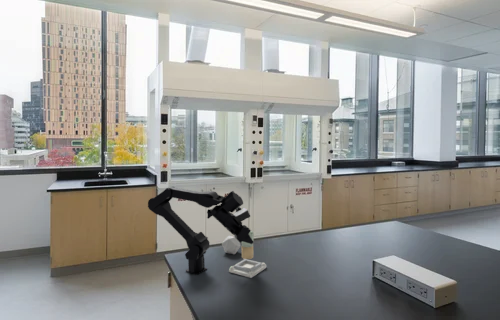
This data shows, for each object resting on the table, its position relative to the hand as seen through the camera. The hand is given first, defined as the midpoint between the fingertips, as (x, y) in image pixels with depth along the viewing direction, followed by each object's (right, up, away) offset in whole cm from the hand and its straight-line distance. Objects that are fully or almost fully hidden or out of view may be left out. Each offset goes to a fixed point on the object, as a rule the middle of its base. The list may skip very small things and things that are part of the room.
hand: (250, 241), depth 134 cm
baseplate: (-1, -12, 0) cm, 12 cm away
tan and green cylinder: (-1, -7, 0) cm, 7 cm away
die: (-9, -11, +21) cm, 25 cm away
